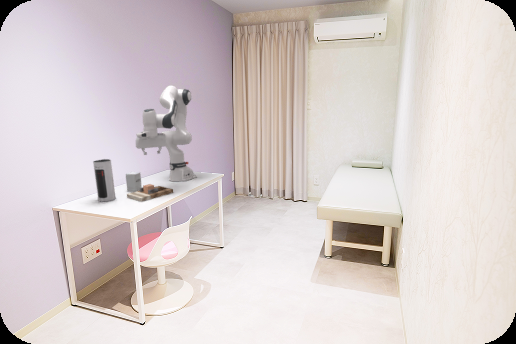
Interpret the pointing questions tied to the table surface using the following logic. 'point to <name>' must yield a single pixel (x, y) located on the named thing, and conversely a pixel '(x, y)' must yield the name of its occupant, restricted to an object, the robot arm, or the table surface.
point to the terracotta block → (148, 187)
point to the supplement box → (133, 181)
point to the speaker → (104, 180)
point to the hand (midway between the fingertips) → (152, 154)
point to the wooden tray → (149, 193)
